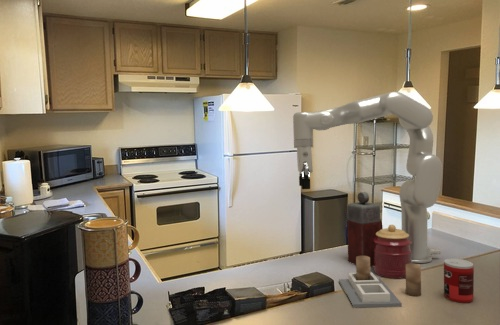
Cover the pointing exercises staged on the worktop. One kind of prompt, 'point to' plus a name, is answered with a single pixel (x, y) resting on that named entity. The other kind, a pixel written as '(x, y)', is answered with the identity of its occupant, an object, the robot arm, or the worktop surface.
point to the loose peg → (413, 279)
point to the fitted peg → (362, 268)
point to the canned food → (458, 280)
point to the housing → (368, 292)
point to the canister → (391, 252)
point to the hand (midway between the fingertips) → (304, 187)
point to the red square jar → (362, 228)
